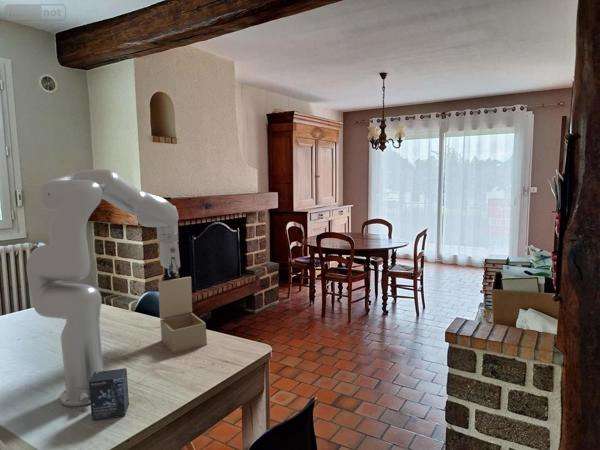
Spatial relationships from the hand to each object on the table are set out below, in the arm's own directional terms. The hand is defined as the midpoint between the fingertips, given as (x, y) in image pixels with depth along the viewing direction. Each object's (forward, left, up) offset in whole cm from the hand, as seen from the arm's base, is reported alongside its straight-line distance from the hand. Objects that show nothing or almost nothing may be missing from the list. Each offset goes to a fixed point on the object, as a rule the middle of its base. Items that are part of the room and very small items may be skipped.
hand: (170, 284), depth 153 cm
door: (-5, 0, -4) cm, 6 cm away
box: (-43, +30, -20) cm, 56 cm away
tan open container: (-11, 0, -19) cm, 22 cm away
